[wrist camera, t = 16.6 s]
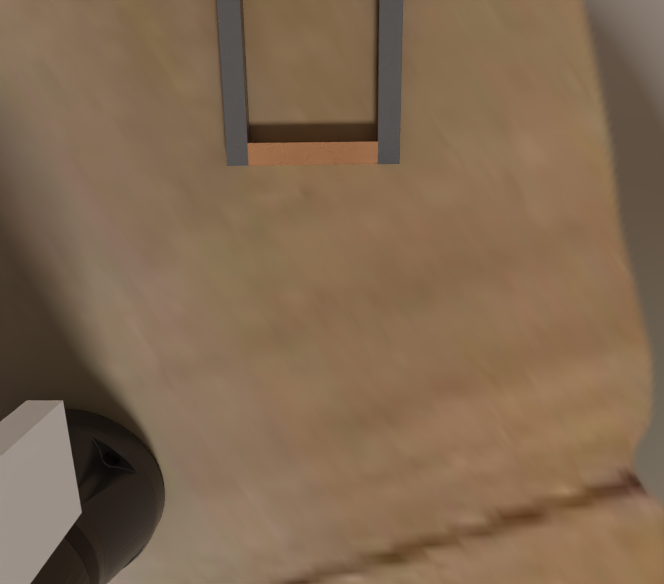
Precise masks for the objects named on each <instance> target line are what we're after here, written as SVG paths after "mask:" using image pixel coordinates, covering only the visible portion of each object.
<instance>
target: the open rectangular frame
mask: <svg viewBox="0 0 664 584" xmlns="http://www.w3.org/2000/svg"><path fill="white" fill-rule="evenodd" d="M217 14H218V29H219V45H220V60H221V75H222V91H223V106H224V122H225V137H226V153H227V166H242V165H332V164H399V158H400V114H401V70H402V26H403V0H379V21H378V109H377V142H297V143H250V133H249V114H248V95H247V76H246V57H245V38H244V18H243V0H217Z"/></svg>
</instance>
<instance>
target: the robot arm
mask: <svg viewBox="0 0 664 584" xmlns="http://www.w3.org/2000/svg"><path fill="white" fill-rule="evenodd" d="M164 501H165V492H164V484H163V480H162V476H161V473H160V471H159V468H158V466H157V464H156V462H155V460H154V459H153V457H152V455H151V454H150V453H149V451H148V450H147V449H146V447H145V446H144V445H143V444H142V443H141V442H140V441H139V440H138V439H137V438H136V437H135V436H134V435H132V434H131V433H130V432H129V431H127V430H126V429H124V428H123V427H121V426H120V425H118V424H116V423H114V422H113V421H111V420H108V419H106V418H104V417H101V416H99V415H95V414H92V413H88V412H83V411H77V410H64V404H63V400H27V401H25V402H24V403H23V404H22V405H20V406H19V407H18V408H17V409H15V410H14V411H13V412H12V413H10V414H9V415H8V416H7V417H5V418H4V419H3V420H2V421H0V584H107V583H108V582H109V581H110V580H111V579H112V578H113V577H114V576H115V575H116V574H117V573H118V572H119V571H120V570H121V569H123V568H125V567H126V566H127V565H129V564H130V563H131V562H132V561H133V560H134V559H135V558H137V557H138V556H139V554H140V553H141V552H142V551H143V550H144V548H145V547H146V546H147V544H148V542H149V541H150V539H151V537H152V535H153V533H154V531H155V529H156V527H157V525H158V523H159V521H160V519H161V516H162V513H163V508H164Z"/></svg>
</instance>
